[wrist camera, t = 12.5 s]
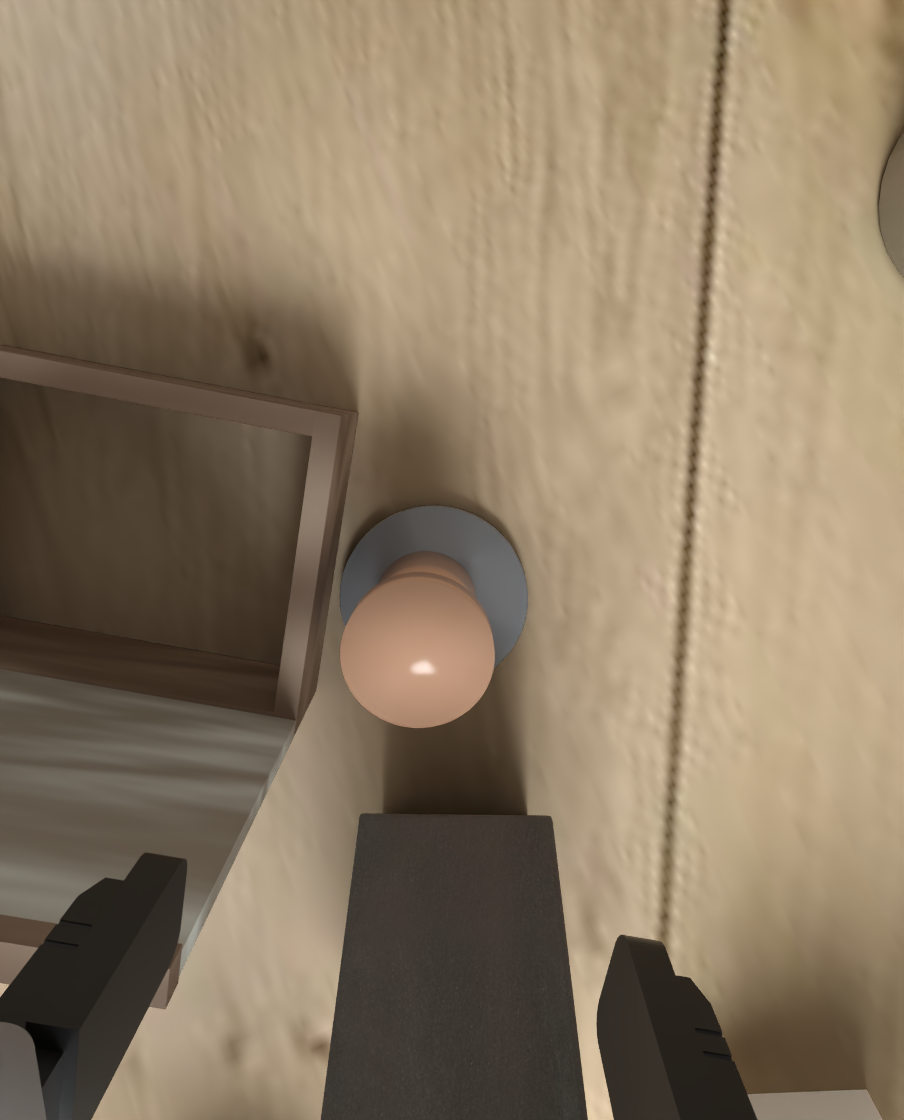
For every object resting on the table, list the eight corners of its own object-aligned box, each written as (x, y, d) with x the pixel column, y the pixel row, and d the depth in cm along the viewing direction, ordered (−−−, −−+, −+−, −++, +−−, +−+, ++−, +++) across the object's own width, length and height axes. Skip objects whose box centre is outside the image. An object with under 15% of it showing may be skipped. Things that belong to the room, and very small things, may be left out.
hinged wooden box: (-35, 337, 32) (-700, 260, 14) (358, 412, 32) (230, 435, 14) (-43, 631, 35) (-590, 889, 17) (315, 694, 36) (165, 1009, 17)
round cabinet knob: (375, 530, 33) (352, 569, 26) (497, 552, 33) (508, 597, 26) (356, 645, 34) (329, 713, 27) (474, 666, 34) (478, 739, 27)
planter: (525, 1164, 36) (610, 1559, 17) (377, 1162, 36) (292, 1554, 17) (518, 816, 42) (575, 814, 23) (390, 815, 42) (338, 812, 23)
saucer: (357, 489, 33) (355, 491, 32) (543, 523, 34) (546, 526, 33) (329, 664, 35) (327, 670, 35) (505, 696, 36) (507, 702, 35)
